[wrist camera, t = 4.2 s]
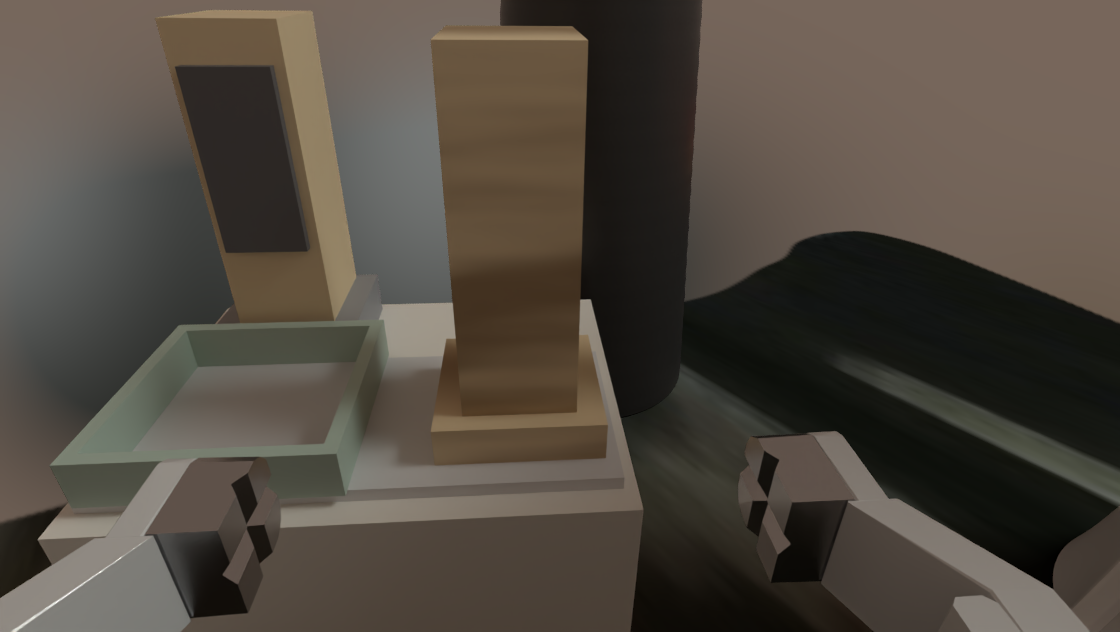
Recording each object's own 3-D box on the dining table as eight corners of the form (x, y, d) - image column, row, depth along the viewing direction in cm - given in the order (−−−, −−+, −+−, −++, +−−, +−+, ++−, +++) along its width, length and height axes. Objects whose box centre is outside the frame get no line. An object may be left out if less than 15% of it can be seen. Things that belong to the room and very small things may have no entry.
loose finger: (606, 457, 22) (631, 43, 15) (434, 465, 21) (385, 42, 15) (586, 364, 27) (600, 24, 20) (448, 368, 27) (416, 23, 20)
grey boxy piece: (624, 685, 25) (692, 53, 14) (141, 718, 24) (-247, 49, 12) (584, 441, 38) (601, 12, 27) (269, 454, 37) (142, 8, 25)
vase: (644, 311, 53) (679, -90, 39) (709, 407, 42) (793, -114, 27) (485, 326, 51) (462, -97, 37) (508, 432, 39) (487, -127, 25)
